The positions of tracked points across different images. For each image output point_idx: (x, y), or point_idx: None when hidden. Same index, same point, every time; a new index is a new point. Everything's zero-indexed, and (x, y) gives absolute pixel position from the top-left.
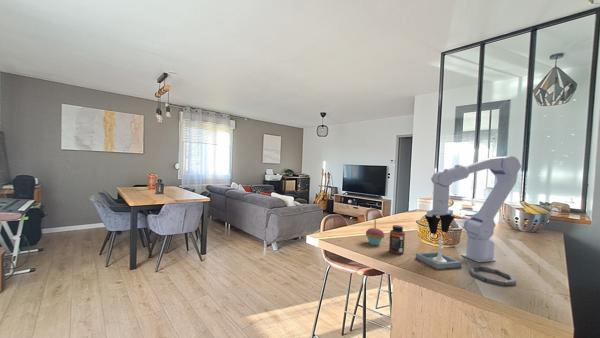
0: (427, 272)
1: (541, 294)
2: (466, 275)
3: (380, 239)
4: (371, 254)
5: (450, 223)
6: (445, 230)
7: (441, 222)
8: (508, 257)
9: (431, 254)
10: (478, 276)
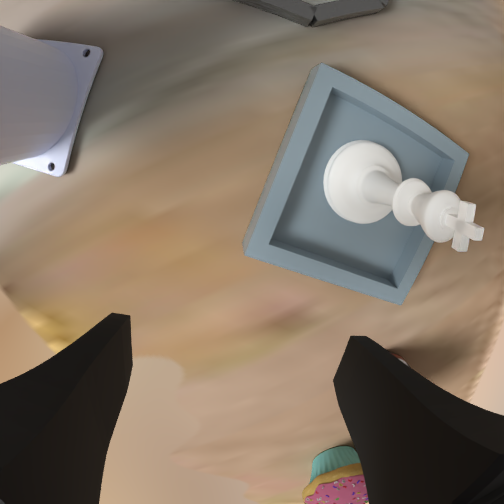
0: (498, 171)
1: None
2: (401, 30)
3: (344, 462)
4: (459, 381)
5: (34, 373)
6: (124, 342)
7: (104, 459)
8: None
9: (319, 258)
10: None
